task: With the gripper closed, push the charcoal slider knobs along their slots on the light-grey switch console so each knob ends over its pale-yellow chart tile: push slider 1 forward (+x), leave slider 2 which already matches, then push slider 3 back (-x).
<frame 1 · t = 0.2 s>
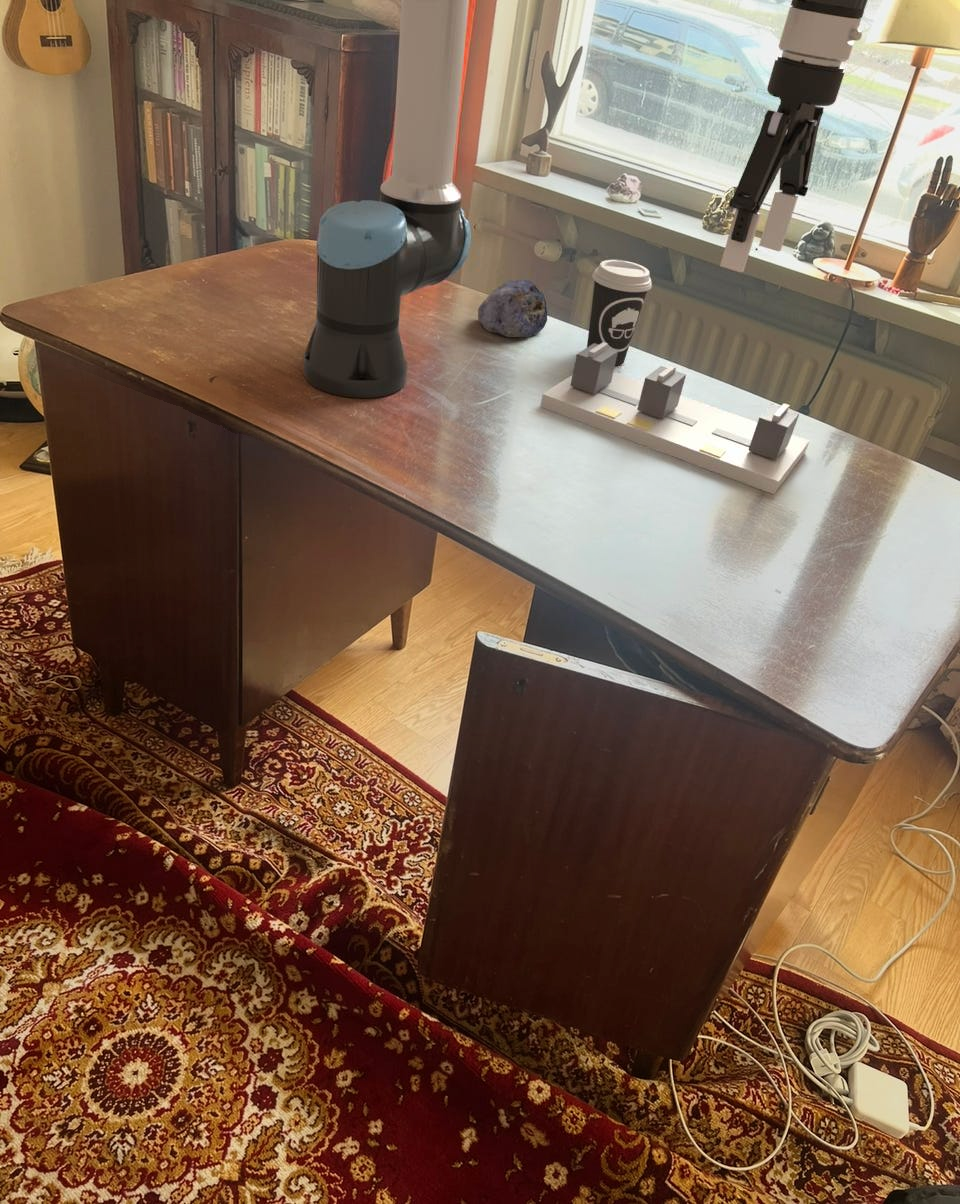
hand: (751, 258, 113), 28 cm above the table, fingers open, 13 cm apart
slider 3: (774, 429, 128), point 5 cm above the table, slide at 0.0 cm
coffee cup: (604, 359, 155), on the table
rock: (506, 330, 160), on the table
slider 2: (662, 389, 134), point 5 cm above the table, slide at 0.0 cm
console: (672, 429, 136), on the table
slider 1: (594, 365, 137), point 5 cm above the table, slide at 0.0 cm
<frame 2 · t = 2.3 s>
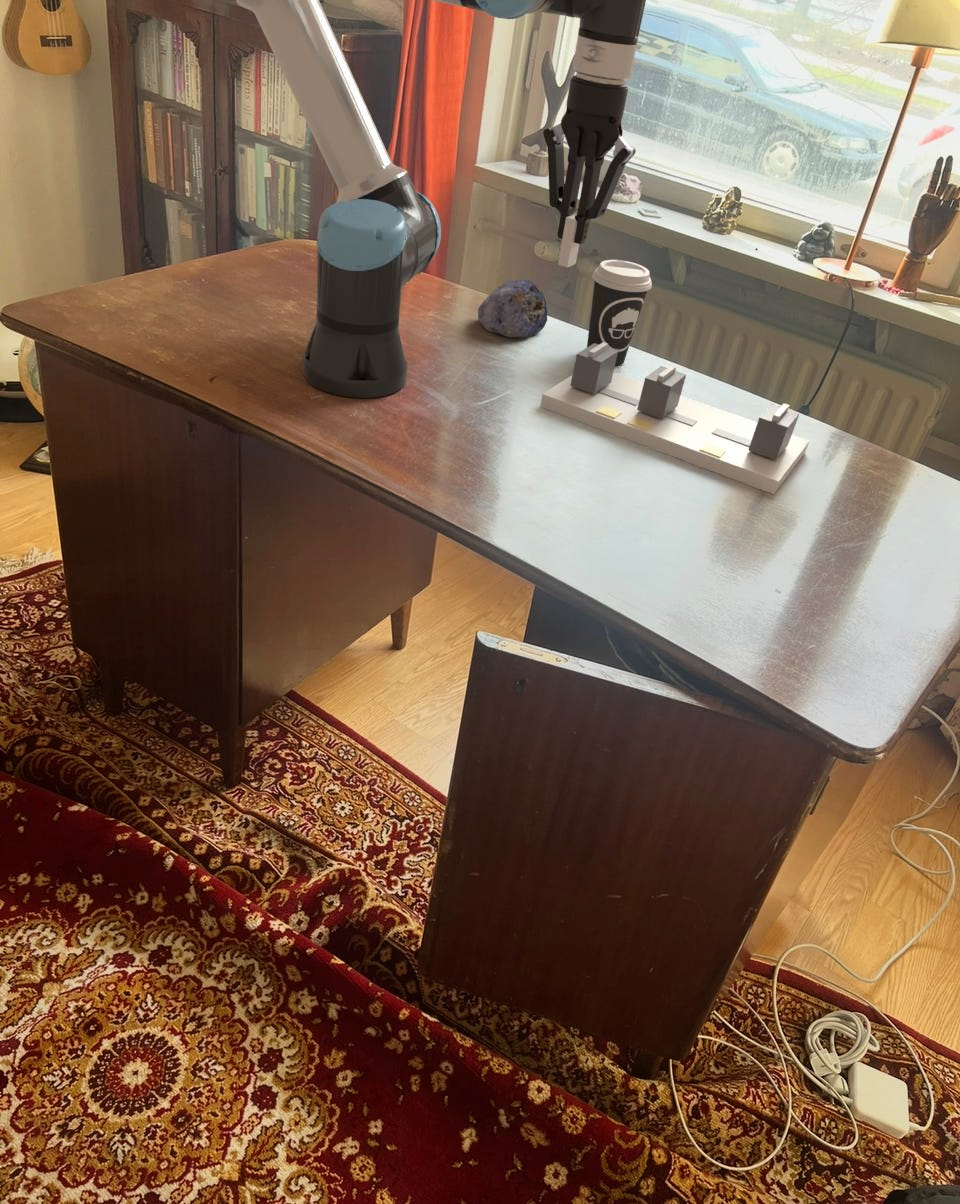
hand: (566, 264, 132), 18 cm above the table, fingers closed
nothing on the table moved.
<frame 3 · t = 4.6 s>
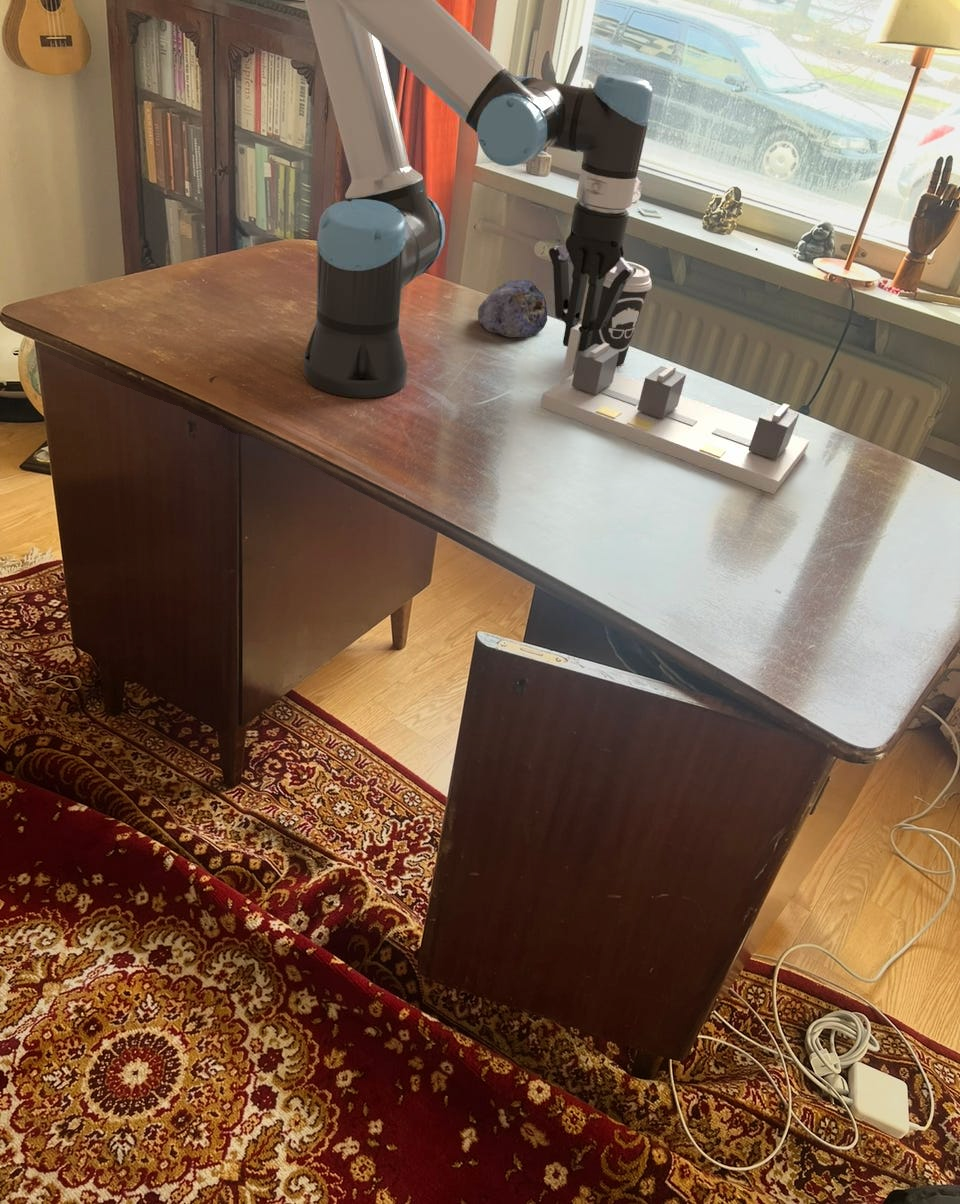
hand: (571, 368, 140), 4 cm above the table, fingers closed
slider 1: (596, 366, 137), point 5 cm above the table, slide at 0.2 cm, touching gripper
everything else where it was.
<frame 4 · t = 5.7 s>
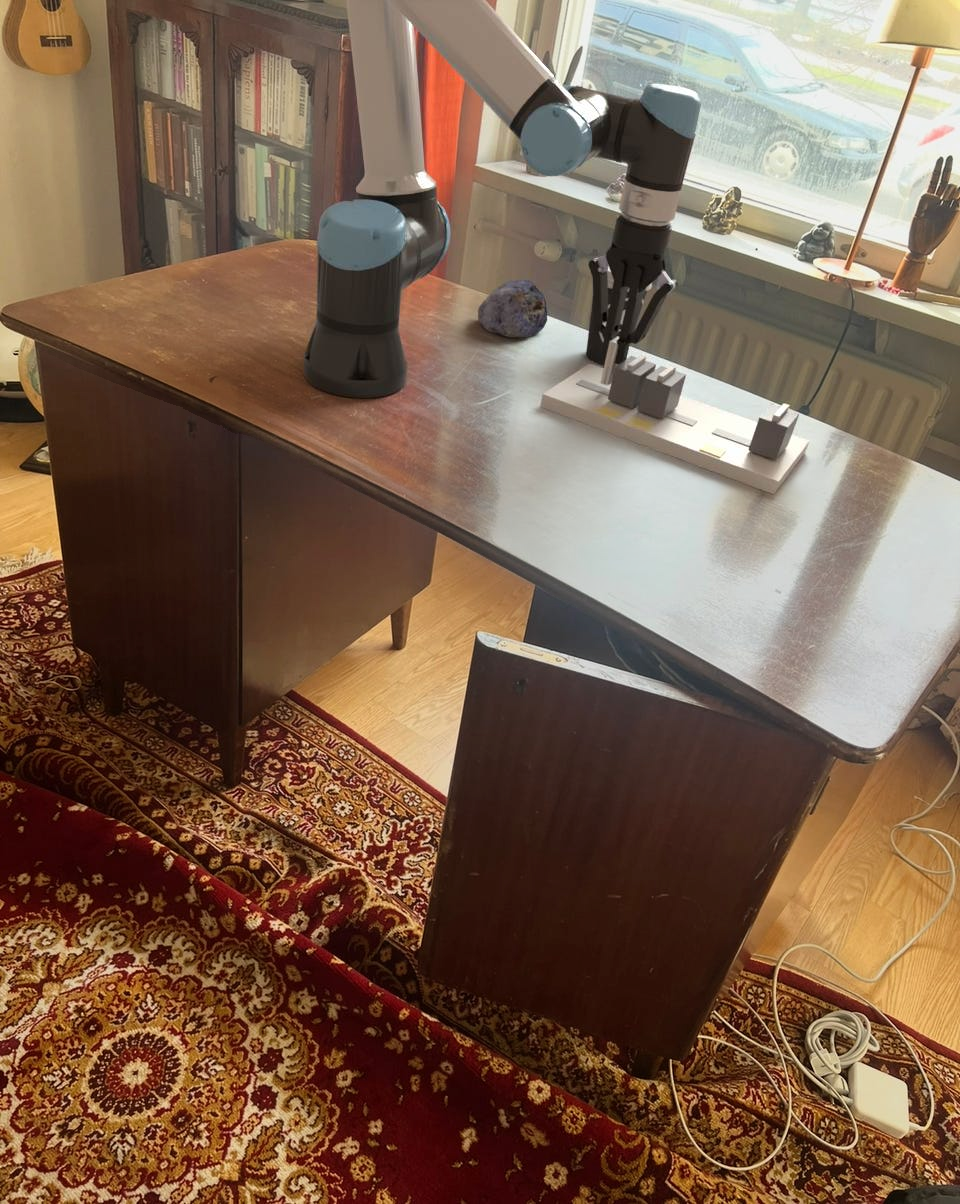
hand: (607, 381, 138), 4 cm above the table, fingers closed
slider 1: (632, 379, 135), point 5 cm above the table, slide at 6.2 cm, touching gripper
everything else where it was.
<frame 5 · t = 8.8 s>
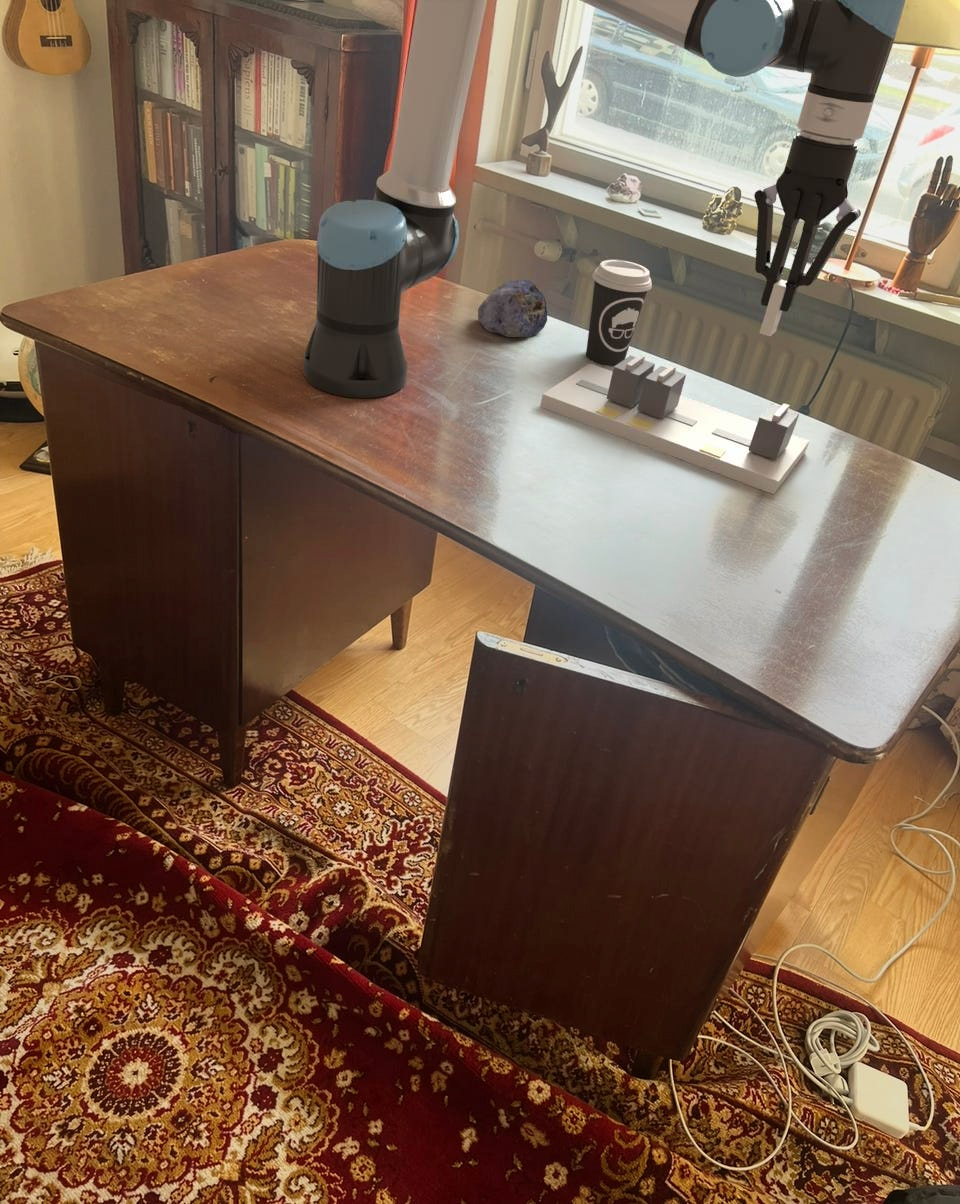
hand: (767, 332, 122), 18 cm above the table, fingers closed
slider 1: (631, 378, 135), point 5 cm above the table, slide at 6.0 cm
everything else where it was.
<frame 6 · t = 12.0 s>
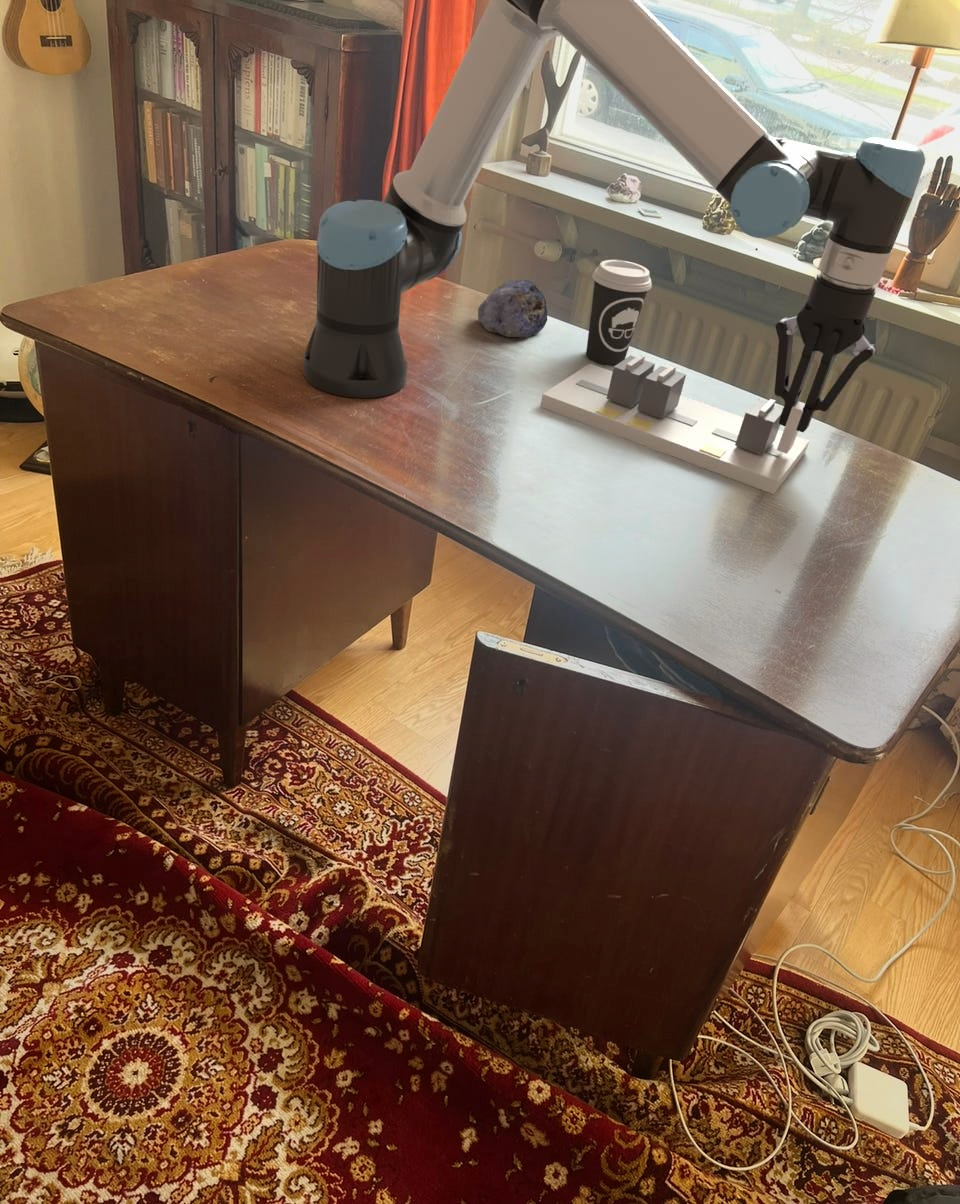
hand: (784, 448, 128), 3 cm above the table, fingers closed
slider 3: (761, 424, 128), point 5 cm above the table, slide at 2.0 cm, touching gripper
everything else where it was.
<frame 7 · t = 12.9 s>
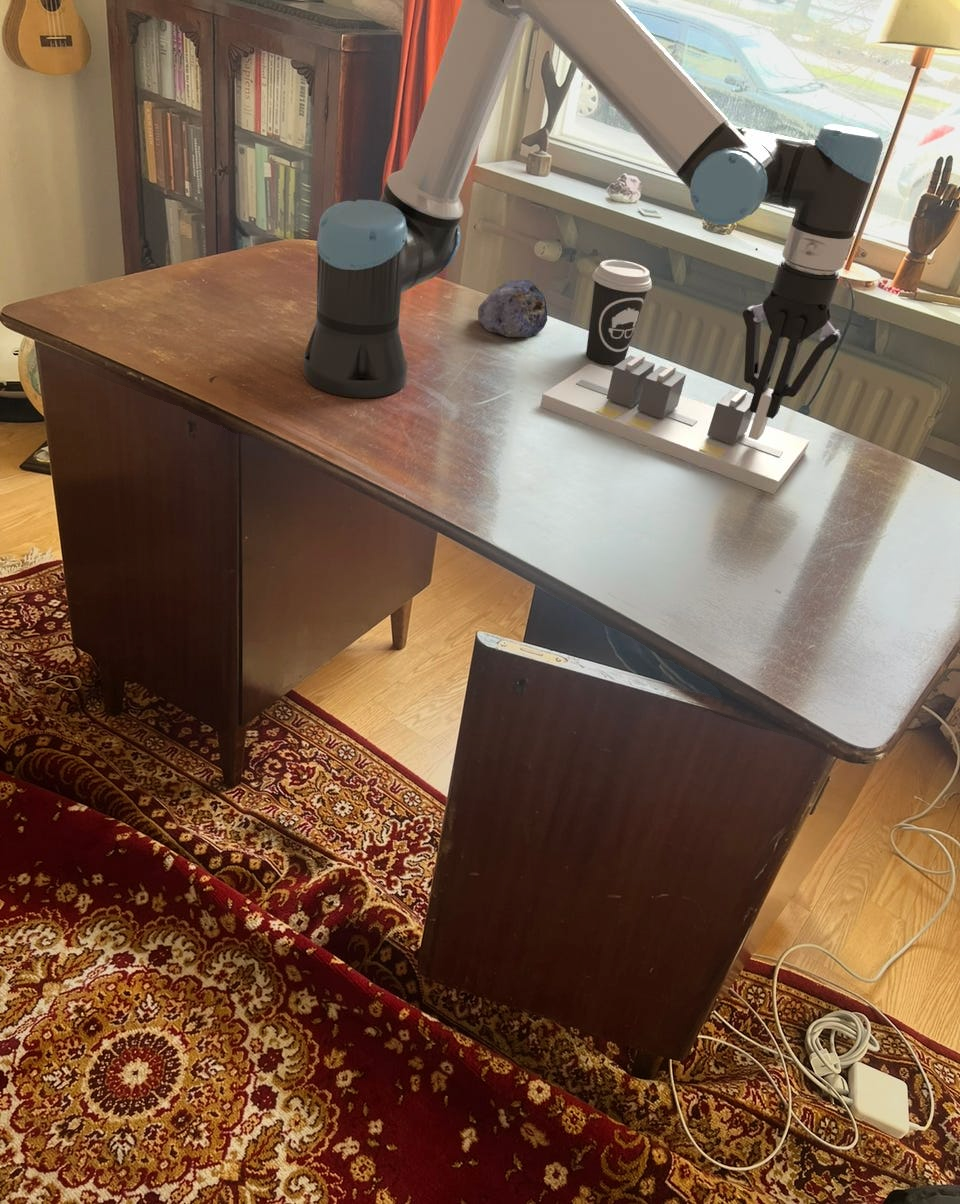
hand: (755, 435, 129), 4 cm above the table, fingers closed
slider 3: (733, 414, 130), point 5 cm above the table, slide at 6.1 cm, touching gripper
everything else where it was.
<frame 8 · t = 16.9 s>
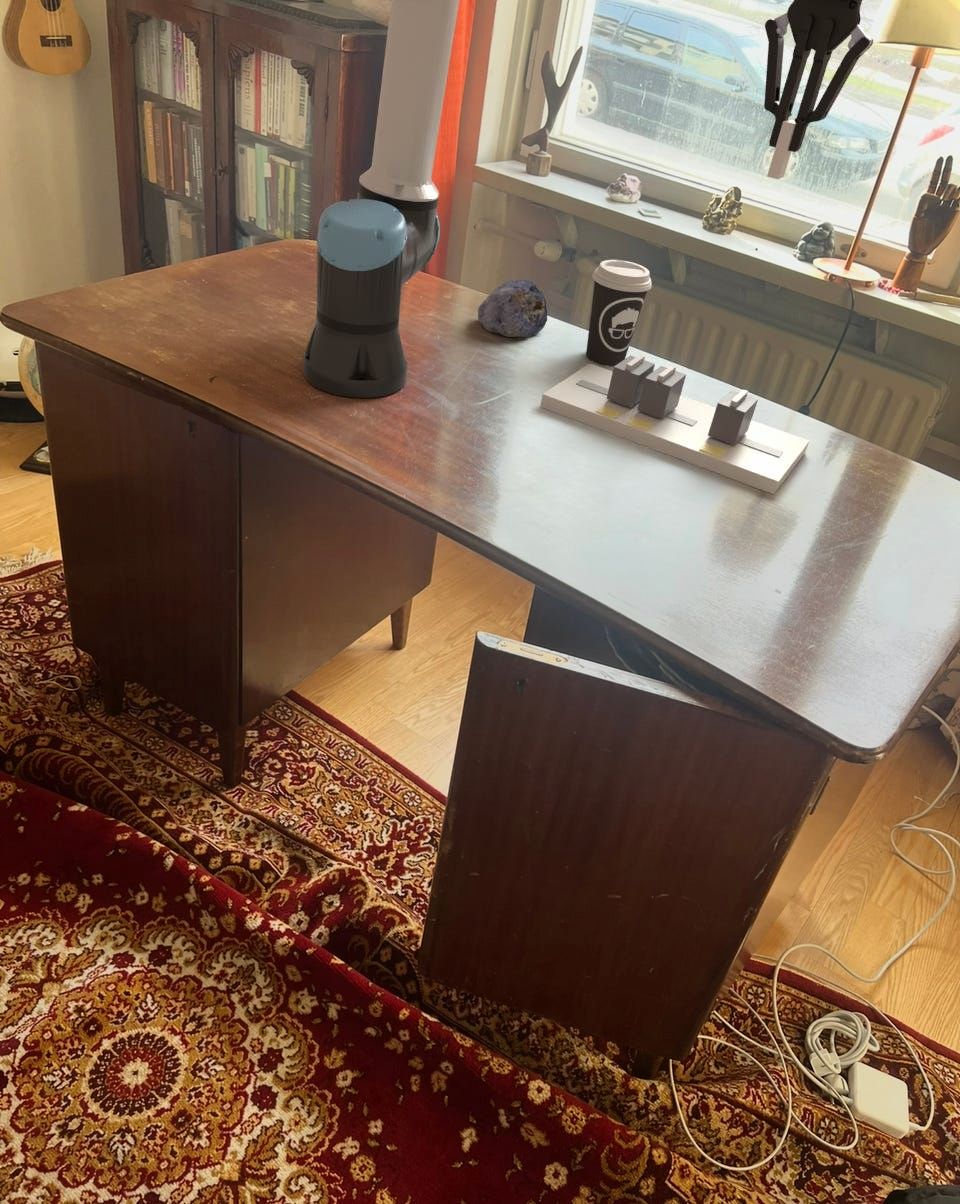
hand: (775, 176, 120), 34 cm above the table, fingers closed
slider 3: (733, 414, 130), point 5 cm above the table, slide at 6.0 cm
everything else where it was.
at the end: slider 1 slide at 6.0 cm; slider 3 slide at 6.0 cm; slider 2 slide at 0.0 cm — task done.
